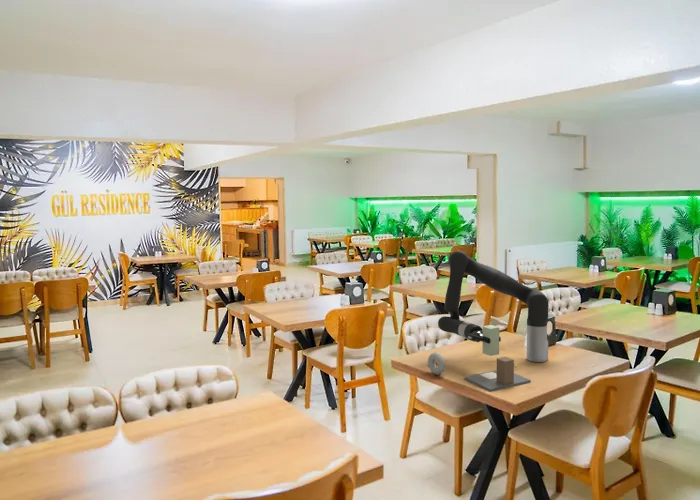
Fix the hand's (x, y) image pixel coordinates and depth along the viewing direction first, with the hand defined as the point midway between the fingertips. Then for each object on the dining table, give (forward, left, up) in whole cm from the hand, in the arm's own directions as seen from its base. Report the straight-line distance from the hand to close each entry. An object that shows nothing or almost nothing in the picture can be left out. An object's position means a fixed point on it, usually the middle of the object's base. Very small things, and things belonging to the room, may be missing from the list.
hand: (494, 340), depth 231 cm
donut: (+18, -18, -18) cm, 31 cm away
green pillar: (0, -3, -7) cm, 7 cm away
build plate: (0, +1, -18) cm, 18 cm away
